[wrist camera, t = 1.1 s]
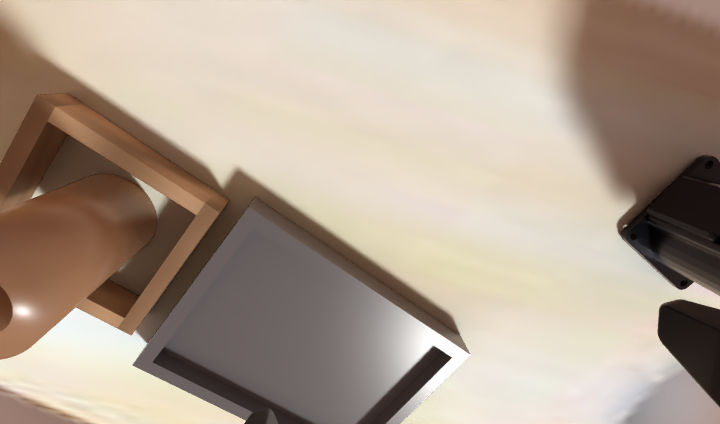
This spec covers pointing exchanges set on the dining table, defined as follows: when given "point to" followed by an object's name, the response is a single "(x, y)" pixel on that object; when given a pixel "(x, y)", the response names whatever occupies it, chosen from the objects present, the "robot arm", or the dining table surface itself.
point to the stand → (70, 116)
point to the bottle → (65, 252)
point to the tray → (299, 333)
